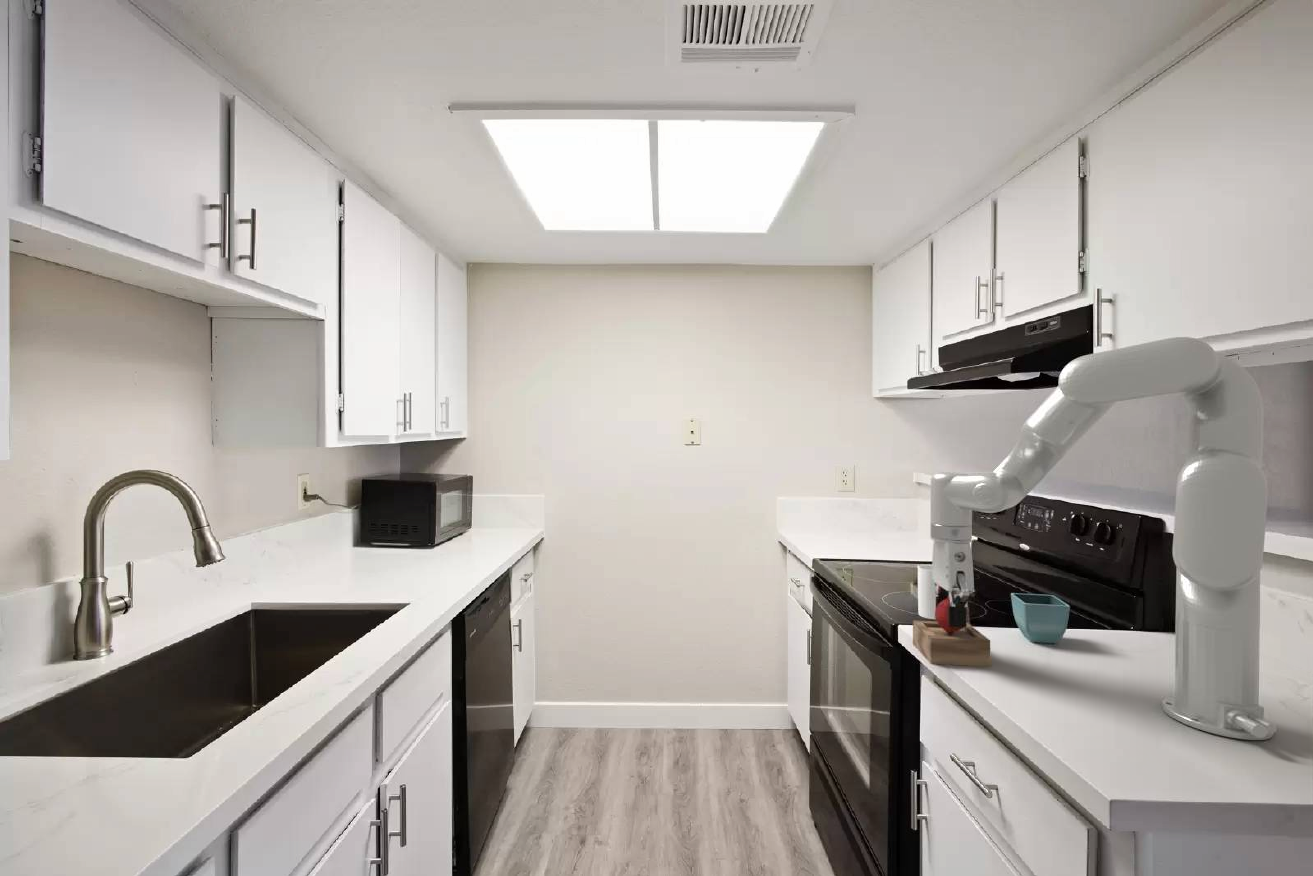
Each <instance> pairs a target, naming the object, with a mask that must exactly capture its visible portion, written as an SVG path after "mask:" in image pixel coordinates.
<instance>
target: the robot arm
mask: <svg viewBox="0 0 1313 876" xmlns="http://www.w3.org/2000/svg"><path fill="white" fill-rule="evenodd" d="M1171 394H1172V395H1175V396H1178V397H1180V398H1181V399H1183V401H1184V403H1185V404H1186V406H1187V410H1188V414H1187V415H1188V421H1187V445H1186V453H1185V454H1186V456H1185V462H1184V465H1183V466H1182V467H1181V469H1180V471H1179V472H1178V476H1177V481H1176V492H1175V504H1174V505H1175V507H1174V523H1173V526H1174V527H1173V538H1172V539H1173V540H1172V558H1173V562H1174V564H1175V565H1174V566H1175V567H1176V585H1175V587H1176V589H1175V593H1176V594H1175V641H1174V642H1175V644H1174V646H1175V648H1174V650H1175V651H1174V652H1175V655H1174V659H1175V661H1174V663H1175V664H1174V665H1175V667H1174V695H1172V696H1167V697H1165V698H1163V699H1162V701H1161V702H1162V705H1161V707H1162V710H1163V711H1164V713H1166V714H1167V715H1168V716H1169V717H1170V718H1172V719H1174V720H1176V721H1178V722H1180V723H1182V724H1184V725H1187V726H1190V727H1192V728H1194V729H1196V730H1201V731H1202V732H1203V731H1204V732H1207V733H1210V734H1214V735H1217V736H1221V737H1225V738H1231V739H1238V740H1246V741H1264V740H1268V739H1270V738H1273V736H1274V734H1275V733H1276V732H1277V729H1278V727H1277V725H1276V724H1274V723H1272V722H1271V721H1269V720H1267V719H1265V718H1264V717H1265V716H1264V714H1265V713H1264V711H1265V710H1264V709H1265V708H1264V706H1262V705H1260V632H1261V630H1260V629H1261V570H1262V569H1263V563H1264V550H1265V539H1266V538H1265V537H1266V526H1267V525H1266V524H1267V522H1266V521H1267V511H1268V510H1267V508H1268V494H1269V493H1268V491H1269V490H1268V488H1269V487H1268V479H1267V476H1266V474H1265V472H1264V470H1263V469H1264V468H1263V452H1264V451H1263V449H1264V402H1263V401H1264V400H1263V397H1262V394H1261V390H1260V388H1259V385H1258V384H1257V382H1256V381H1255V379H1254V378H1253V376H1252V375H1251V374H1250V373H1249V372H1248V370H1246V369H1245V368H1244V367H1243V366H1241V364H1239V363H1238V362H1236V361H1234V360H1232V359H1231V358H1228V357H1226V356H1225V355H1224V354H1223V355H1222V354H1220V353H1219V352H1216V350H1214V348H1213V347H1212V346H1211V345H1210V344H1208V343H1207V342H1206V341H1204V340H1201V339H1198V338H1195V337H1191V336H1189V337H1188V336H1175V337H1168V338H1164V339H1163V338H1162V339H1158V340H1153V341H1148V342H1144V343H1138V344H1136V345H1135V344H1134V345H1130V346H1125V347H1120V348H1115V349H1110V350H1106V351H1101V352H1095V353H1089V354H1086V355H1082V356H1079V357H1077V358H1075V359H1073V360H1071V361H1070V362H1068V363H1067V364H1066V365H1065V366H1064V367H1063V369H1062V370H1061V372H1060V373H1059V376H1058V385H1057V387H1055V389H1054V390H1053V391H1052V392H1051V393H1049V395H1048V396H1047V398H1046V399H1045V400H1044V401H1043V402H1042V403H1041V404H1040V405H1039V407H1037V408H1036V410H1035V411H1034V412H1033V413H1032V414H1031V415H1029V417H1028V418H1027V419H1026V420H1025V421H1024V423H1023V425H1022V427H1021V430H1020V431H1021V432H1020V436H1019V439H1018V440H1017V441H1018V442H1017V443H1016V444H1015V446H1014V448H1013V449H1012V450H1011V452H1009V454H1008V456H1006V457H1005V458H1004V460H1003V461H1001V463H1000V464H999V465H998V466H997V467H996V468H995V469H994V470H993V471H992V472H989V473H983V474H973V475H972V474H971V475H970V474H967V473H965V472H955V471H954V472H950V471H948V472H946V471H943V472H942V471H939V472H936V473H934V474H932V475H931V479H930V536H929V537H930V540H931V541H933V545H932V559H931V560H932V561H931V562H932V563H931V565H932V575H933V580H934V582H935V586H936V590H935V594H936V607H937V606H938V604H939V603H940V602H942V601H943V600H946V599H947V598H948V595H949V598H950V605H951V606H948V625H949V626H950V627H966V623H967V620H966V614H967V608H968V600H969V597H970V594H972V593H973V592H974V591H975V585H974V584H975V582H974V579H975V578H974V564H973V563H974V562H973V554H972V553H973V552H972V545H971V543H972V541H973V539H972V538H973V537H972V535H973V532H972V531H973V529H972V527H973V523H972V522H973V520H972V519H973V511H975V512H980V513H986V514H993V513H998V512H1002V511H1004V510H1008V509H1011V508H1013V507H1015V506H1017V505H1018V504H1019V503H1021V501H1022V500H1024V498H1025V497H1027V496H1028V494H1029V493H1031V492H1032V490H1033V489H1034V488H1035V487H1037V486H1038V485H1039V483H1040V482H1041V481H1042V480H1043V479H1044V478H1045V477H1046V476H1047V475H1048V474H1049V472H1051V471H1052V469H1054V467H1055V466H1056V465H1057V464H1058V463H1059V462H1060V461H1061V460H1062V459H1064V456H1065V455H1066V454H1067V453H1068V452H1069V450H1071V449H1072V448H1073V447H1074V445H1075V444H1076V443H1078V441H1079V440H1081V438H1082V437H1083V436H1084V435H1085V434H1086V433H1087V432H1088V431H1089V430H1090V429H1092V427H1093V426H1094V425H1095V423H1097V422H1098V421H1099V420H1100V419H1101V418H1102V417H1103V416H1104V415H1105V414H1106V413H1107V412H1108V411H1109V410H1110V409H1111V408H1112V407H1113V406H1115V404H1116V403H1117V402H1123V401H1129V400H1130V401H1131V400H1138V399H1144V398H1150V397H1155V396H1156V397H1157V396H1164V395H1171ZM958 588H959V591H958V590H954V589H958ZM957 594H958V595H959V596H957ZM955 595H956V596H955Z"/></svg>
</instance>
